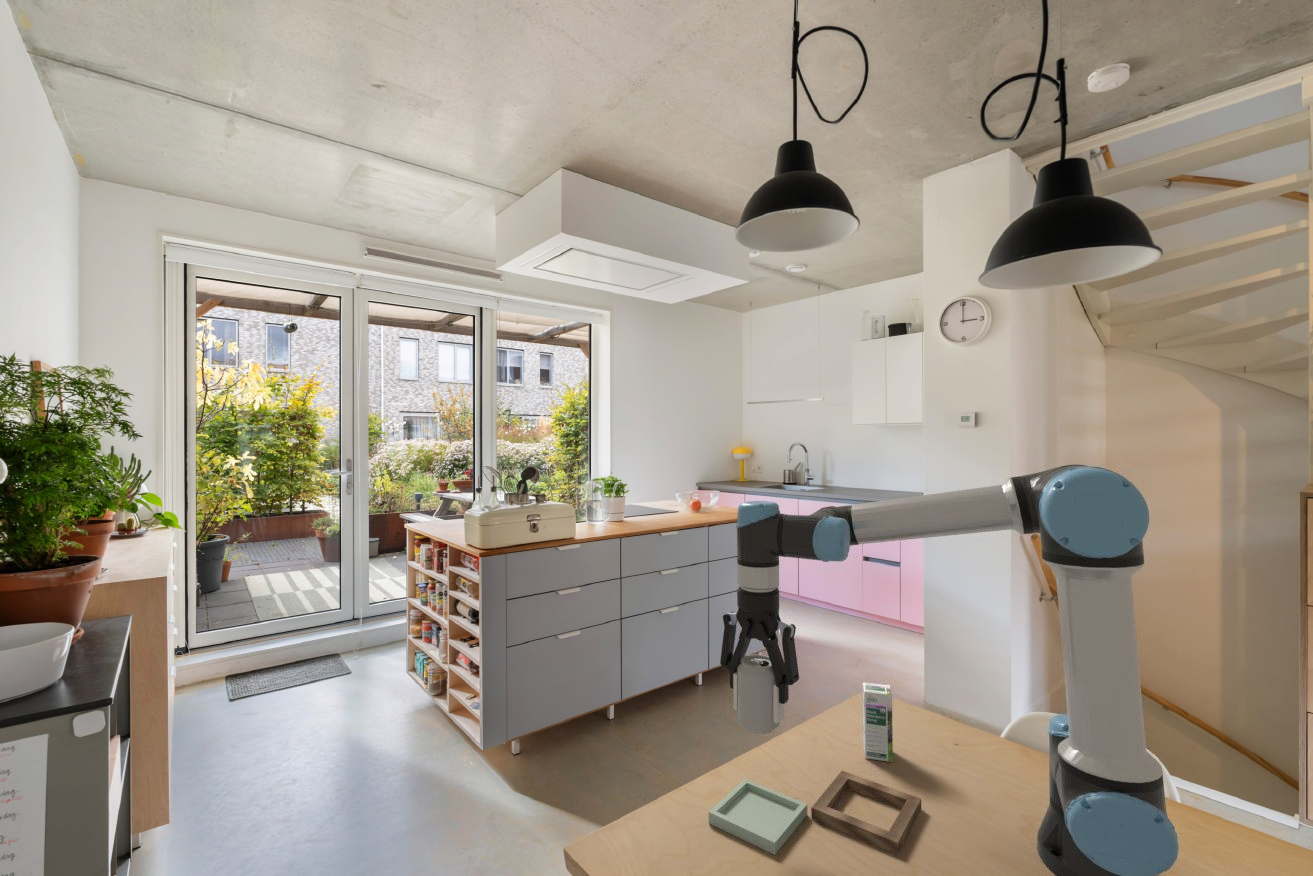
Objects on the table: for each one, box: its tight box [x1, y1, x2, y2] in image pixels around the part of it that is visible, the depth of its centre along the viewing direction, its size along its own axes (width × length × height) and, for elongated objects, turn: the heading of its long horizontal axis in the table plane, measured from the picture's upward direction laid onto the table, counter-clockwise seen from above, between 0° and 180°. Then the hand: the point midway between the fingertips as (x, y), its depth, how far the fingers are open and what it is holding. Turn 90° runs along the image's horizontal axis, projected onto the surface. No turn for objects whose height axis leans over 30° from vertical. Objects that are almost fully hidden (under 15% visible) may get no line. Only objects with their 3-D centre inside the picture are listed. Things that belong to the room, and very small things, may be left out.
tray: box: [708, 778, 808, 856], centre depth 105 cm, size 13×13×2 cm
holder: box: [810, 770, 922, 855], centre depth 107 cm, size 15×15×2 cm
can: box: [737, 654, 781, 735], centre depth 105 cm, size 8×8×12 cm
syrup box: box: [862, 682, 894, 763], centre depth 127 cm, size 6×6×14 cm
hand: (758, 713), depth 105 cm, fingers closed on can, 7 cm apart
